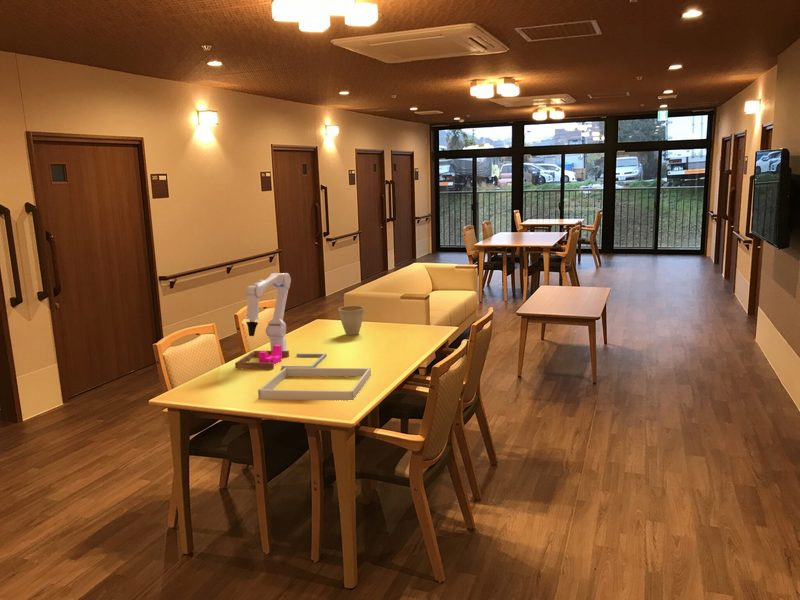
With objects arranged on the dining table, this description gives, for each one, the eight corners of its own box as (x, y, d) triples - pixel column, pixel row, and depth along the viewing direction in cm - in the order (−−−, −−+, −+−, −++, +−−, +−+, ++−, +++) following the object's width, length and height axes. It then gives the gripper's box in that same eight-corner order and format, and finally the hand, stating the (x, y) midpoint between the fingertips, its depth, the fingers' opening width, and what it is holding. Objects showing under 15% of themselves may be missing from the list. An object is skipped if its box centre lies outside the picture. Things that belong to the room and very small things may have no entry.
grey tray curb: (285, 375, 307) (285, 367, 306) (371, 376, 299) (370, 368, 298) (258, 399, 275) (257, 390, 274) (353, 400, 267) (352, 391, 266)
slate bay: (297, 356, 340) (297, 353, 340) (326, 356, 337) (326, 353, 337) (281, 369, 317) (281, 366, 317) (312, 369, 314) (312, 366, 314)
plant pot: (338, 337, 375) (336, 311, 372) (341, 331, 390) (340, 306, 387) (364, 336, 374) (362, 310, 371) (366, 330, 389) (364, 305, 386)
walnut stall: (254, 356, 344) (253, 350, 344) (289, 356, 341) (288, 350, 340) (235, 368, 322) (235, 363, 322) (273, 369, 318) (272, 363, 318)
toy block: (269, 367, 322) (268, 353, 321) (259, 366, 325) (258, 352, 323) (286, 359, 336) (285, 345, 334) (276, 358, 338) (275, 344, 337)
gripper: (244, 309, 331) (242, 335, 330) (245, 308, 317) (243, 336, 316) (258, 309, 333) (256, 335, 332) (259, 309, 319) (258, 336, 318)
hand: (251, 335), depth 324 cm, fingers open, 7 cm apart
